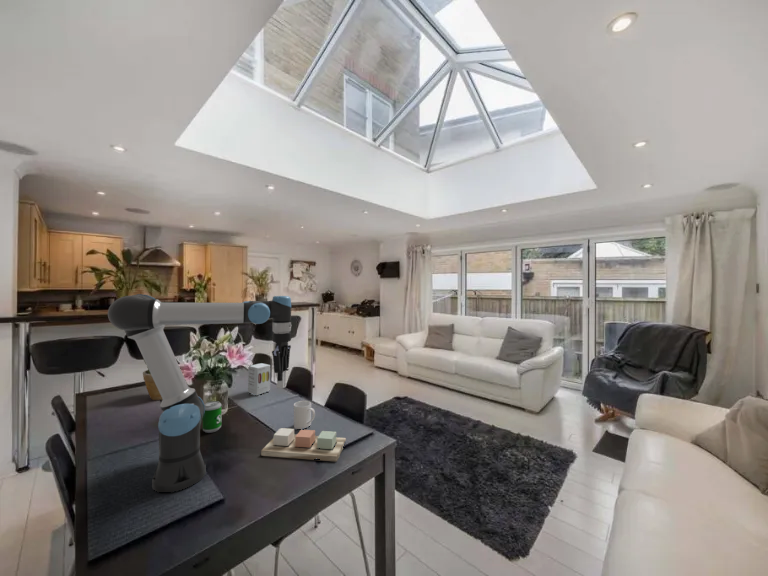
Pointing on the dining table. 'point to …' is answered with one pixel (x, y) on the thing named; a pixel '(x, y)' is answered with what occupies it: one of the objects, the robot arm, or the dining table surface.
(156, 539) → the dining table surface
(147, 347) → the robot arm
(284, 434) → the cream button
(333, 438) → the sage button
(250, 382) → the supplement box
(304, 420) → the mug
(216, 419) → the soda can
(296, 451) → the button board
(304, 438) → the terracotta button
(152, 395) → the potted plant
